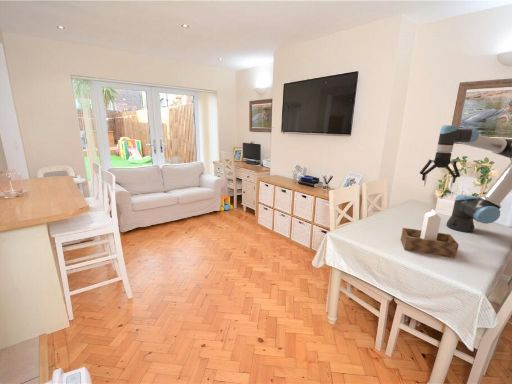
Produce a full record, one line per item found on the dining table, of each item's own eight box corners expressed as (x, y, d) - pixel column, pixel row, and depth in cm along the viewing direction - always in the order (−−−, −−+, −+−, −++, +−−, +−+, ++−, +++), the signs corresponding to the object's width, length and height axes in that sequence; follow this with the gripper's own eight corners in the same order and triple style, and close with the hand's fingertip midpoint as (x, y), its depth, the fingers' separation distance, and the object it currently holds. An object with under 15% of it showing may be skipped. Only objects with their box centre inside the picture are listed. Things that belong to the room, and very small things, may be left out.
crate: (447, 247, 147) (450, 234, 145) (455, 258, 135) (458, 244, 133) (400, 239, 156) (402, 227, 154) (404, 249, 143) (406, 236, 141)
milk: (422, 248, 143) (429, 211, 137) (418, 243, 149) (425, 208, 143) (434, 249, 141) (442, 212, 136) (430, 245, 147) (438, 209, 141)
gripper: (467, 152, 149) (459, 187, 155) (418, 150, 158) (412, 183, 164) (472, 153, 142) (463, 190, 148) (420, 151, 151) (414, 186, 157)
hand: (436, 186), depth 156 cm, fingers open, 13 cm apart
